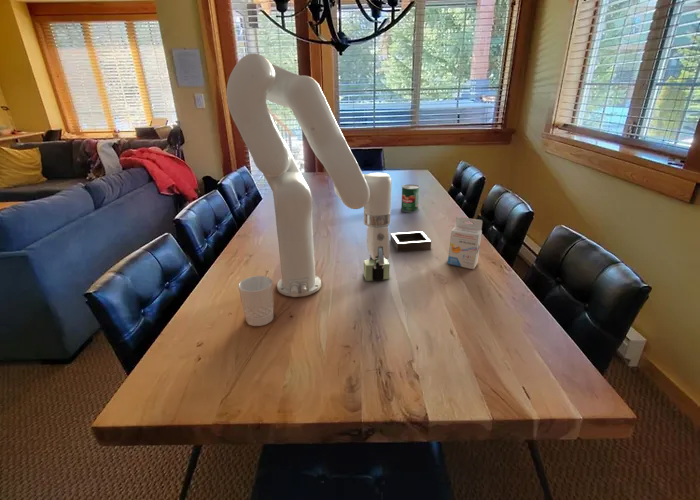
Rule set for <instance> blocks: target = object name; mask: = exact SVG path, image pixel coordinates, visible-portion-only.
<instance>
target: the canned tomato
mask: <svg viewBox="0 0 700 500" xmlns="http://www.w3.org/2000/svg"><path fill="white" fill-rule="evenodd" d="M419 204H420V185H417V184H403V185H402V186H401V207H400V210H401V211H402V212H405V213H417V212H418V211H419Z"/></svg>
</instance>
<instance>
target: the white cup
mask: <svg viewBox="0 0 700 500" xmlns="http://www.w3.org/2000/svg"><path fill="white" fill-rule="evenodd" d="M238 291H239V296H240V302H241V306H242V310H243V313H244V317H245V322H246V323H247V325H249V326H252V327H261V326H266V325H268V324H270V323H271V322H272V321H273V320H274V319H275V317H274V316H275V315H274V288H273V279H272V278H270V277H269V276H267V275H266V276H265V275H254V276H253V275H252V276H248V277H246V278H244V279H242V280H240V282H239V283H238Z"/></svg>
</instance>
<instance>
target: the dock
mask: <svg viewBox="0 0 700 500" xmlns="http://www.w3.org/2000/svg"><path fill="white" fill-rule="evenodd" d="M390 243H391V244H392V246H393V247H394V249H395V250H396V252H397V253H400V252H402V253H403V252H415V251H416V252H417V251H428V250H429V251H430V250H431V249H432V241H431V239H430V238H429V237H428V236H427V235H426V234H425V232H424V231H420V230H419V231H408V232H392V233H391V232H390Z"/></svg>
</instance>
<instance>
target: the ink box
mask: <svg viewBox="0 0 700 500" xmlns="http://www.w3.org/2000/svg"><path fill="white" fill-rule="evenodd" d="M467 222H469V223H467ZM482 229H483V220H482V219H476V218H470V217H463V216H456V217H455V225H454V227H453V228H452V229H451V230H450V239H449V247H448V257H447V264H448V265H452V266H455V267H461V268H464V269H470V270H475V268H476V267H477V265H478V261H479V254H480V247H481V239H482V233H483V230H482Z"/></svg>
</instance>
